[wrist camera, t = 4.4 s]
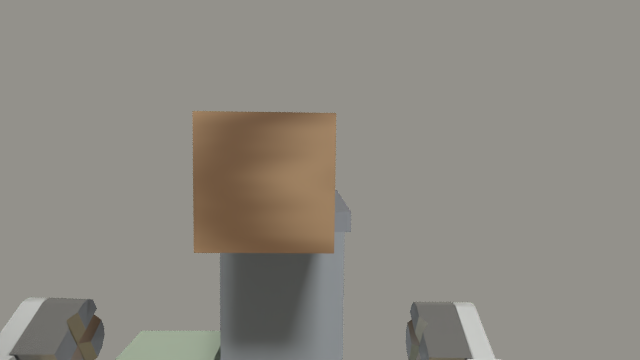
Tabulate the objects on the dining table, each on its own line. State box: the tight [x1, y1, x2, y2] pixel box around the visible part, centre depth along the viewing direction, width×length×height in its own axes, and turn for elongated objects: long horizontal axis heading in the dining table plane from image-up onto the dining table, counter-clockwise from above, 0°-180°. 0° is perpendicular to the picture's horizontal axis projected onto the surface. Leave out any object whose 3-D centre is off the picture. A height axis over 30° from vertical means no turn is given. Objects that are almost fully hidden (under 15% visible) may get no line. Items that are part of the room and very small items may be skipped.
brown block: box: [193, 111, 336, 254], centre depth 23 cm, size 4×22×4 cm, turn 1°
